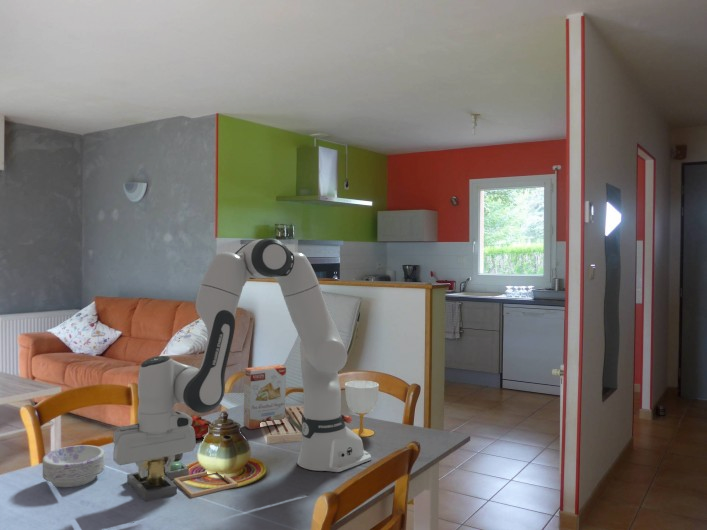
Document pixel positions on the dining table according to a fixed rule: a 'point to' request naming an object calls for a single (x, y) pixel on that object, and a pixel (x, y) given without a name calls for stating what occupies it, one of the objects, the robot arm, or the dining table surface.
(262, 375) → the cracker box
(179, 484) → the wooden square tray
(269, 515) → the dining table surface
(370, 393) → the cup
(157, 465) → the cylinder
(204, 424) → the dragon fruit
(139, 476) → the billet seated
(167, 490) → the grey compartment tray
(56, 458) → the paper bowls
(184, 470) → the button housing
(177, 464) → the button
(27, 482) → the dining table surface
